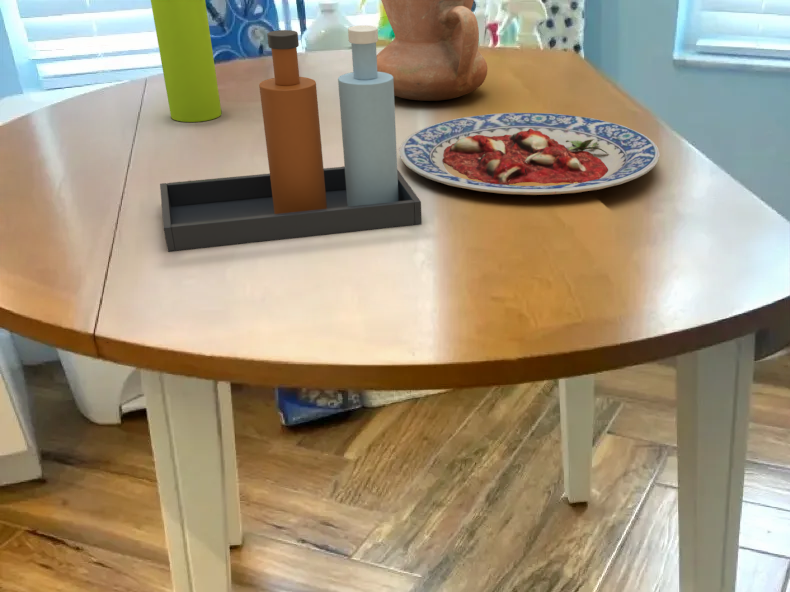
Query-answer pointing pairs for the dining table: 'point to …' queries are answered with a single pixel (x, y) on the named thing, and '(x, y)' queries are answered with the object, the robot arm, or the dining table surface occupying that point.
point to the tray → (270, 212)
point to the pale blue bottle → (368, 124)
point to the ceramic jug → (432, 49)
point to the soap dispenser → (187, 59)
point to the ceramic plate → (529, 153)
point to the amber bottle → (292, 130)
